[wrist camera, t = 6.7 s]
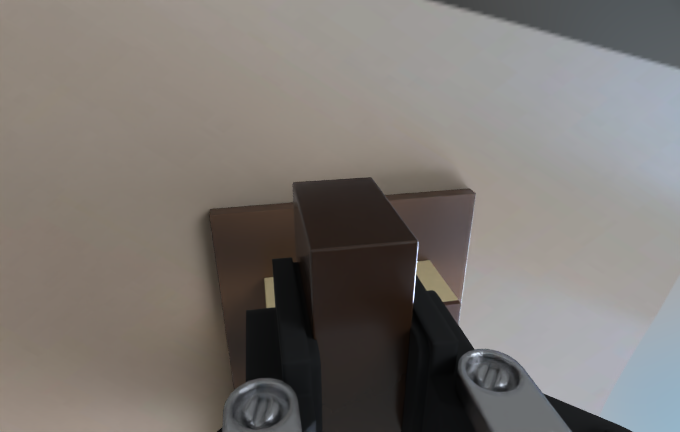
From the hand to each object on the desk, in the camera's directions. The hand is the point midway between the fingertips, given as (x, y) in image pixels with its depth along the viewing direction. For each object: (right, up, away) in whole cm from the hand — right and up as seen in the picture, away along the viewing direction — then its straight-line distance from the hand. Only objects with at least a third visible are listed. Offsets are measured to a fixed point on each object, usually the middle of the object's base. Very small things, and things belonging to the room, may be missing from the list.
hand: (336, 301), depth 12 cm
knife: (0, -4, +2) cm, 4 cm away
